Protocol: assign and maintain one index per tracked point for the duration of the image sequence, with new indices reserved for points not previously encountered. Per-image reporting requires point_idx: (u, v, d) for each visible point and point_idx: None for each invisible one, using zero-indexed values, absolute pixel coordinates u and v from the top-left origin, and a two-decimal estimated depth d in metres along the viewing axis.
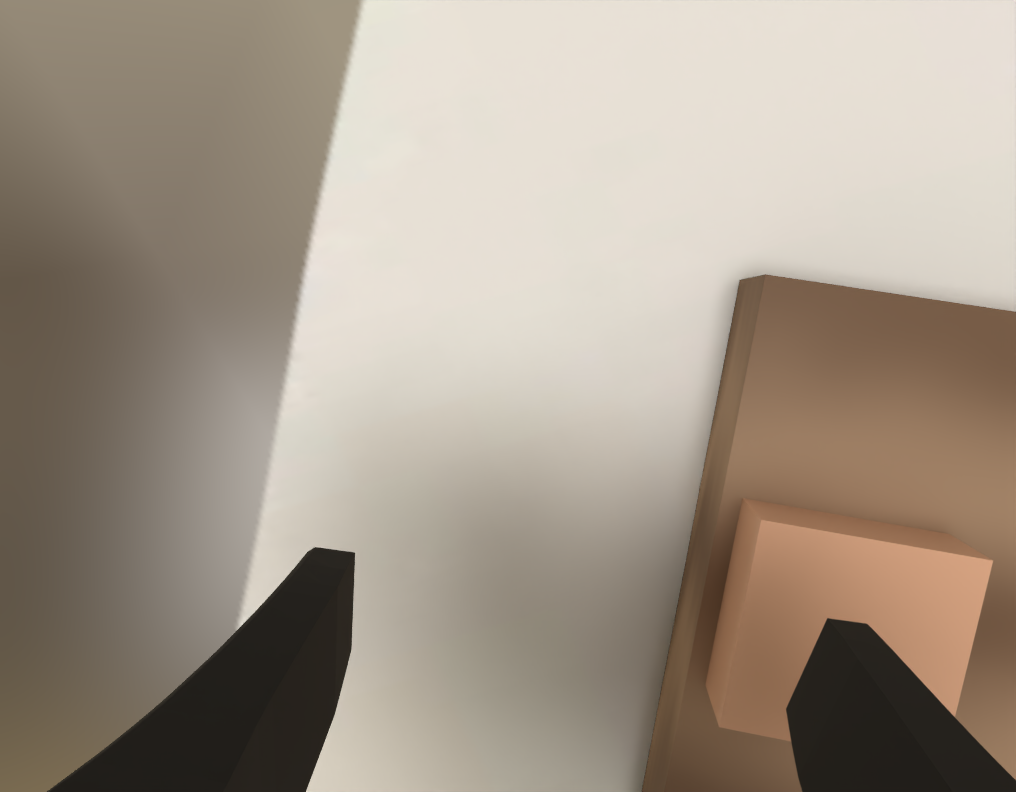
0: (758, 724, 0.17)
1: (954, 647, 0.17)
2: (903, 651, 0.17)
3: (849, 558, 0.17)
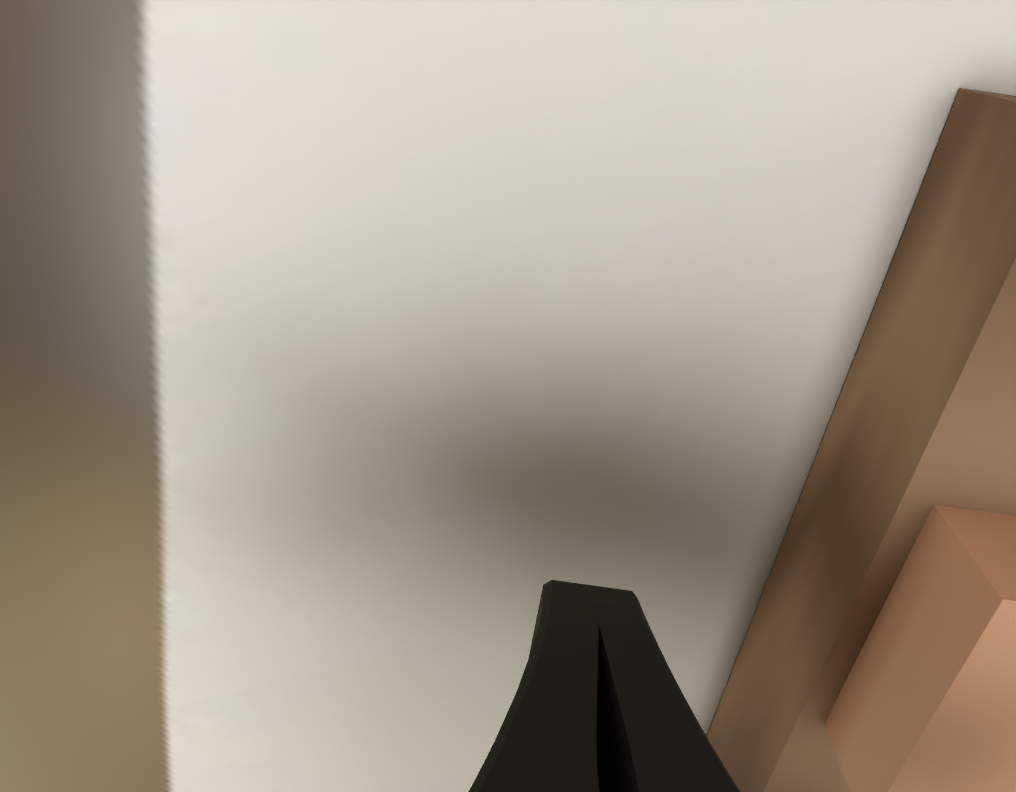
0: None
1: None
2: None
3: None
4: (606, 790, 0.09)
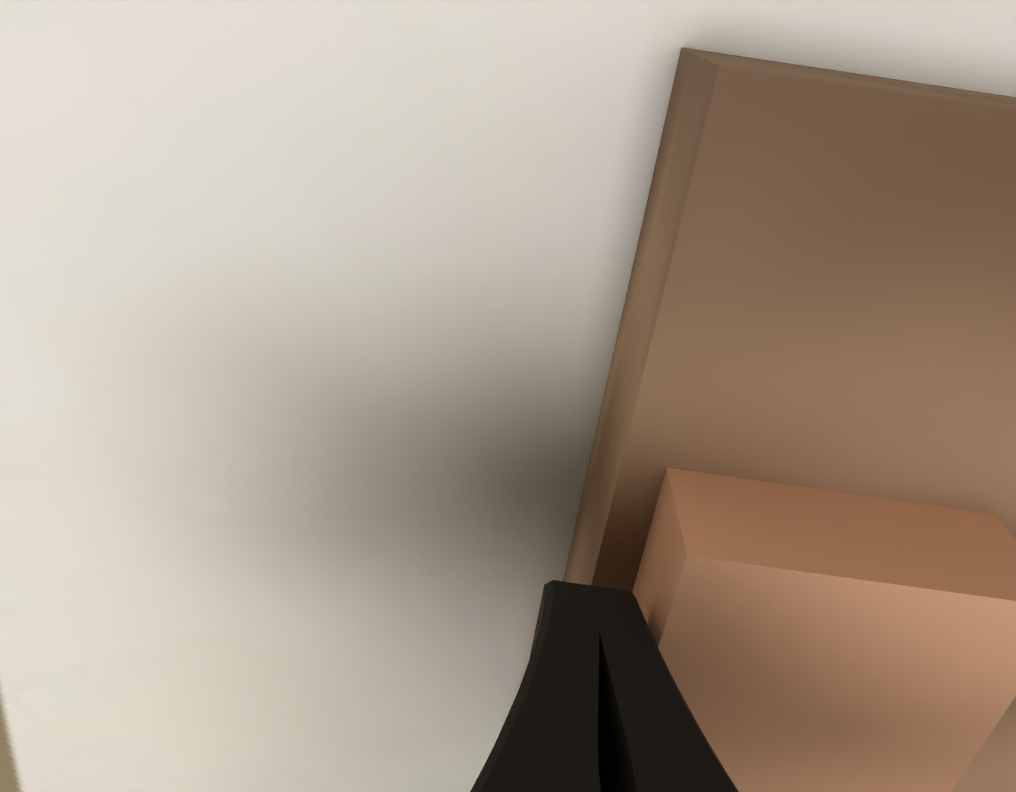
0: None
1: (976, 714, 0.11)
2: (895, 718, 0.11)
3: (831, 607, 0.10)
4: (605, 790, 0.09)
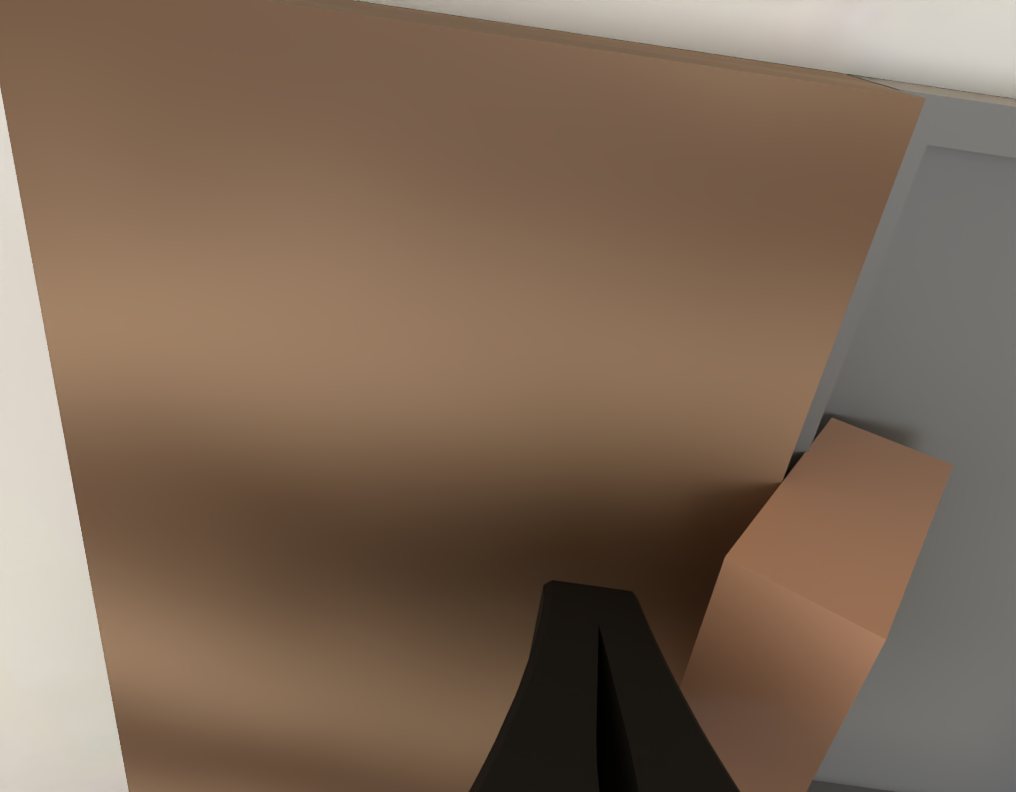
0: None
1: None
2: None
3: None
4: (606, 790, 0.09)
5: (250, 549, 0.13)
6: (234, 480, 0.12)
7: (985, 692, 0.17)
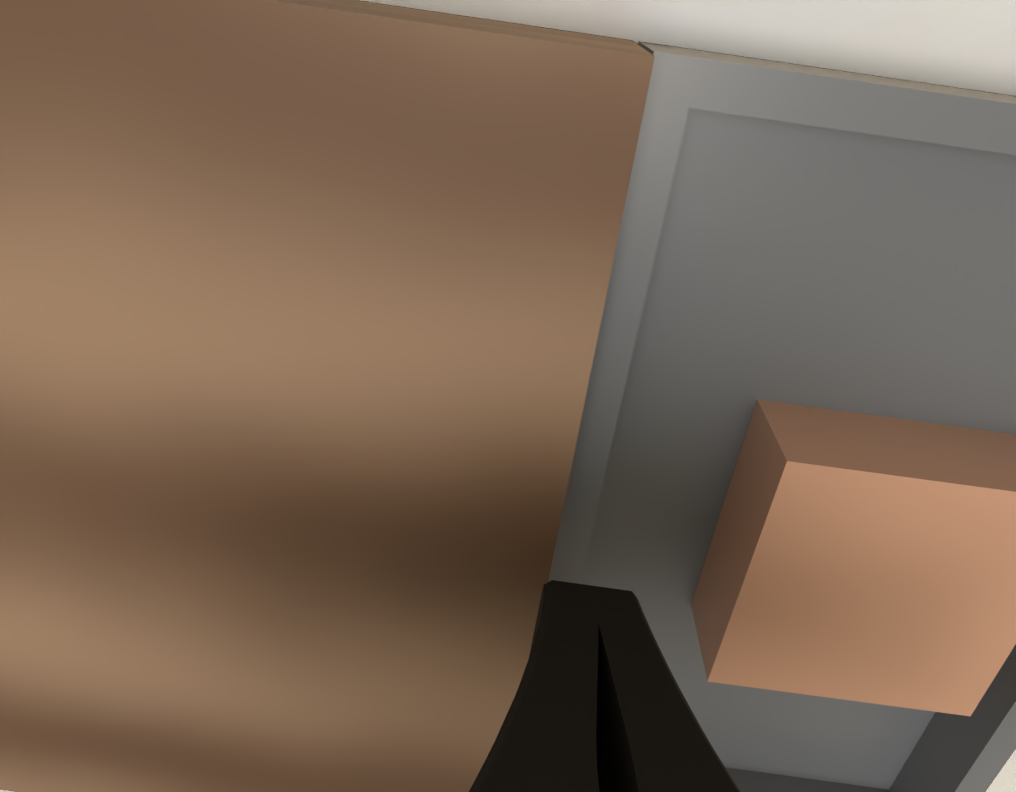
0: None
1: None
2: None
3: None
4: (606, 790, 0.09)
5: (62, 523, 0.12)
6: (35, 452, 0.12)
7: None
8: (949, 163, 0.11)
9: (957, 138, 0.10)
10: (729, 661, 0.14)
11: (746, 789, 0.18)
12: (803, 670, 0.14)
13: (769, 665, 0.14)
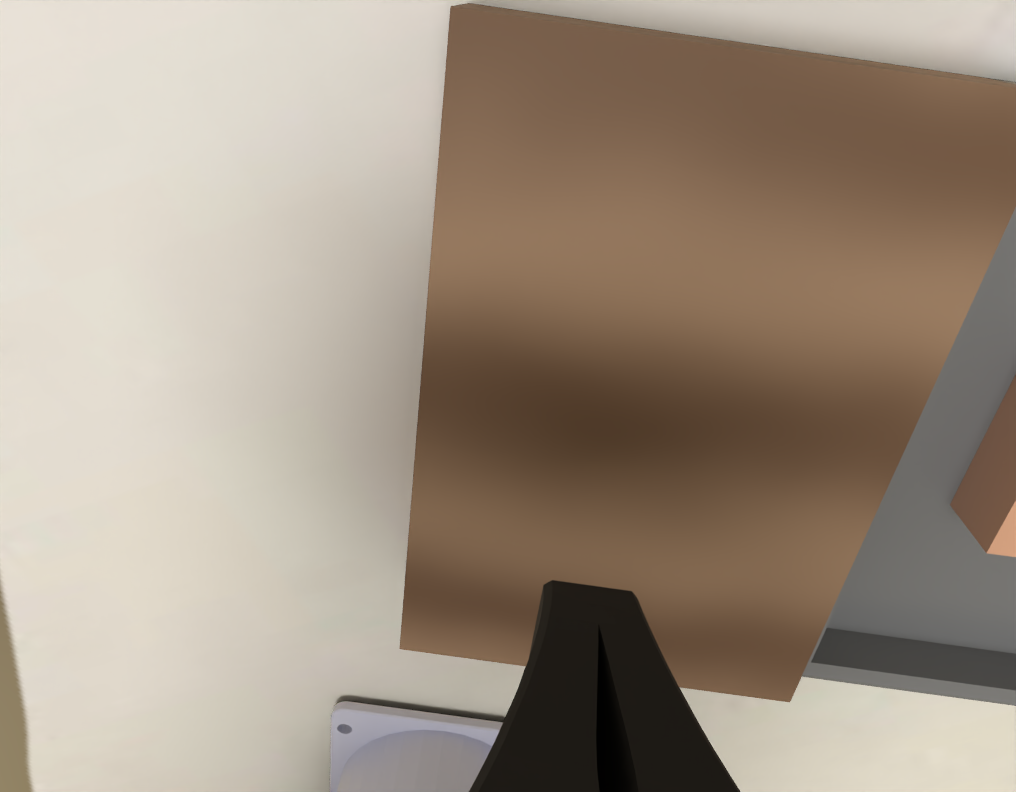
0: None
1: None
2: None
3: None
4: (606, 790, 0.09)
5: (542, 427, 0.17)
6: (542, 372, 0.17)
7: None
8: None
9: None
10: (1007, 536, 0.18)
11: (971, 659, 0.22)
12: None
13: None
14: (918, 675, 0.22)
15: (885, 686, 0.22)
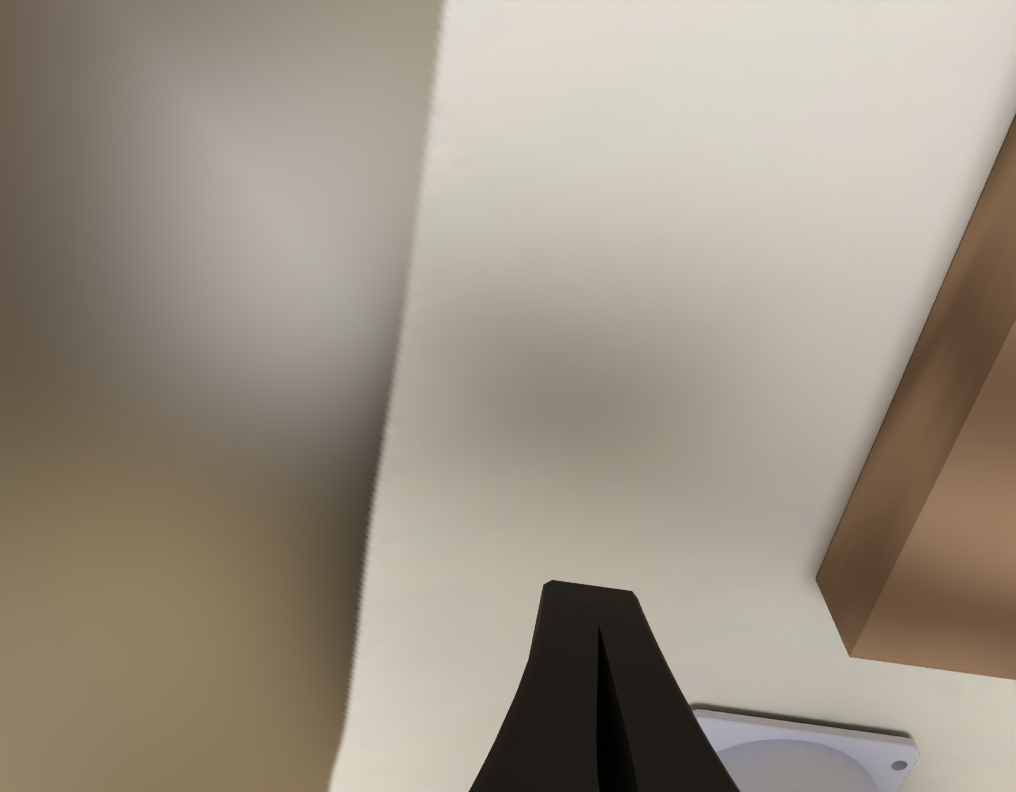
0: None
1: None
2: None
3: None
4: (606, 790, 0.09)
5: None
6: None
7: None
8: None
9: None
10: None
11: None
12: None
13: None
14: None
15: None
